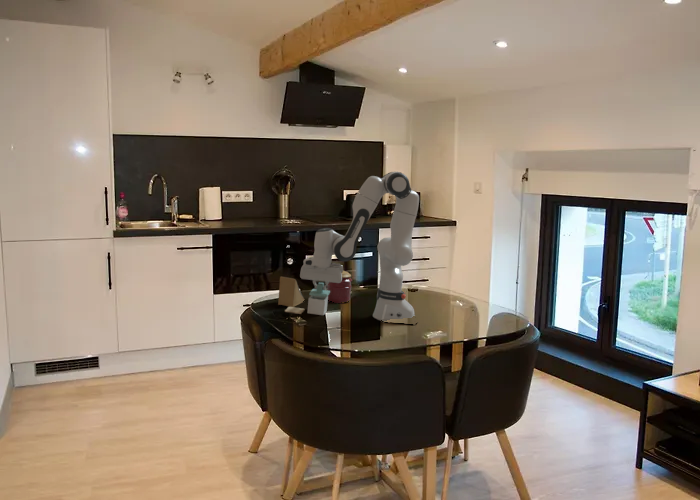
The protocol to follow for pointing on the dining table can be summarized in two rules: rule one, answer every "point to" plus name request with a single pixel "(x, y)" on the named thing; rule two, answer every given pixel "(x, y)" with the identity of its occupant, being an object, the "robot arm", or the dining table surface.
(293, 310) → the board
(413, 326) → the dining table surface
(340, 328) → the dining table surface
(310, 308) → the box
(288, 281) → the sandwich container
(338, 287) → the canister
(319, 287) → the lid
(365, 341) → the dining table surface
